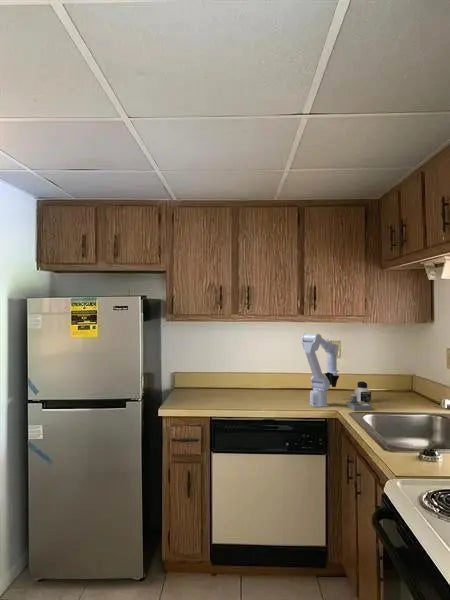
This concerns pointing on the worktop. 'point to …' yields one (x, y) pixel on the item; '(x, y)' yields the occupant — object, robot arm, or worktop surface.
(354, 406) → the socket block
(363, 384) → the medicine bottle
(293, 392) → the worktop surface
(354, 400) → the plug
